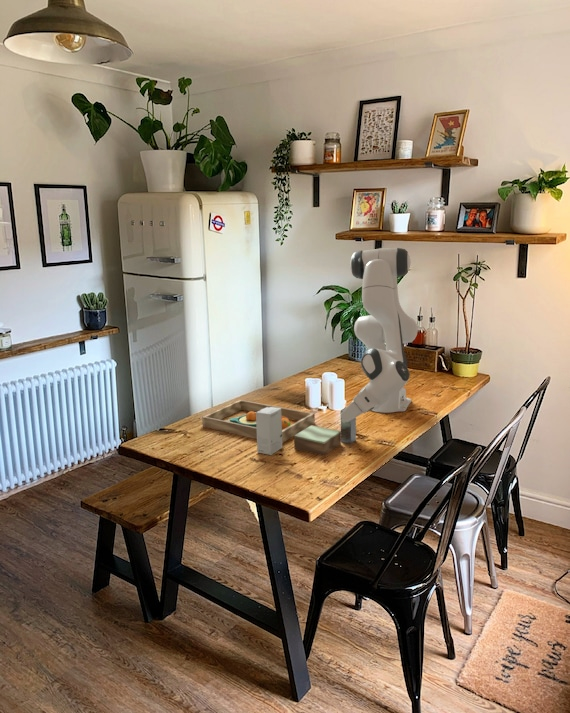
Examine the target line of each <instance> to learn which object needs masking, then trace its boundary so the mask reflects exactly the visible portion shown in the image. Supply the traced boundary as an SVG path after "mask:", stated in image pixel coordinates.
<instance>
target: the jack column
mask: <svg viewBox="0 0 570 713" xmlns="http://www.w3.org/2000/svg"><path fill="white" fill-rule="evenodd" d="M347 407H348V406H345V407H344V408H342V409H340V413H339V414H340V415H341V413H342V412H343V411H344V410H345V409H346V408H347ZM341 419H342V417H341V416H340V431H341V443H344V444H349V445H352V444H353V443H355V442H356V439H357V435H356V434H357V433H356V432H357V417H356V418H354V419H353V420H351V421H349V422H348V423H343V422H342V421H341Z"/></svg>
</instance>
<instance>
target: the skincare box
mask: <svg viewBox="0 0 570 713" xmlns="http://www.w3.org/2000/svg"><path fill="white" fill-rule="evenodd" d="M256 428H257V439H256V449H257V451H256V452H257V453H259V454H264V455H267V456H272V455H273V454H275V453H276V452H278V451H279V450H281V449H282V448H283V442H282V419H281V408H275V407H266V408H264V409H261V410H260V411H258V412H256Z"/></svg>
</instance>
